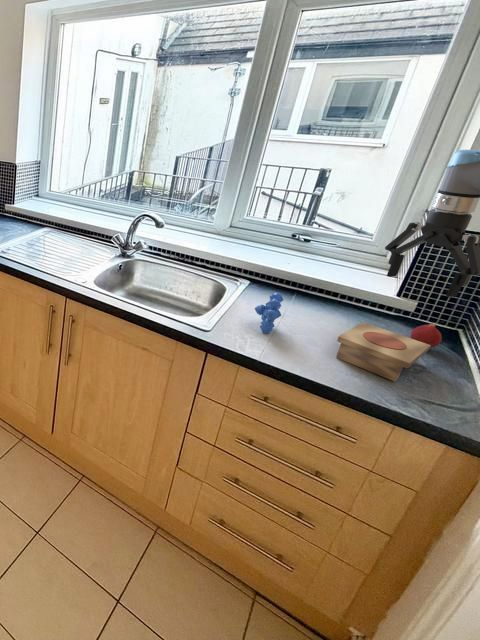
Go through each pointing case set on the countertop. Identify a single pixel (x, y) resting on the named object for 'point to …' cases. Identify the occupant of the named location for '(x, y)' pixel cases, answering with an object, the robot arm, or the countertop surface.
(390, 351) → the wooden stand red oval
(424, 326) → the onion
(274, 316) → the grapes
